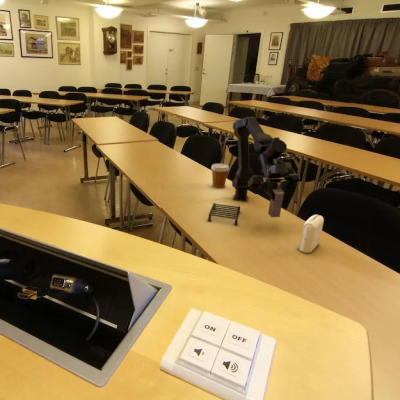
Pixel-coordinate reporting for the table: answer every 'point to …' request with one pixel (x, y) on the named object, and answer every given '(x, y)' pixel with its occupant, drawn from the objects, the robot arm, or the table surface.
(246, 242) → the table surface
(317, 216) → the photo printer
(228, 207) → the wire rack
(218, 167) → the disposable coffee cup
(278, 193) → the hanger post
